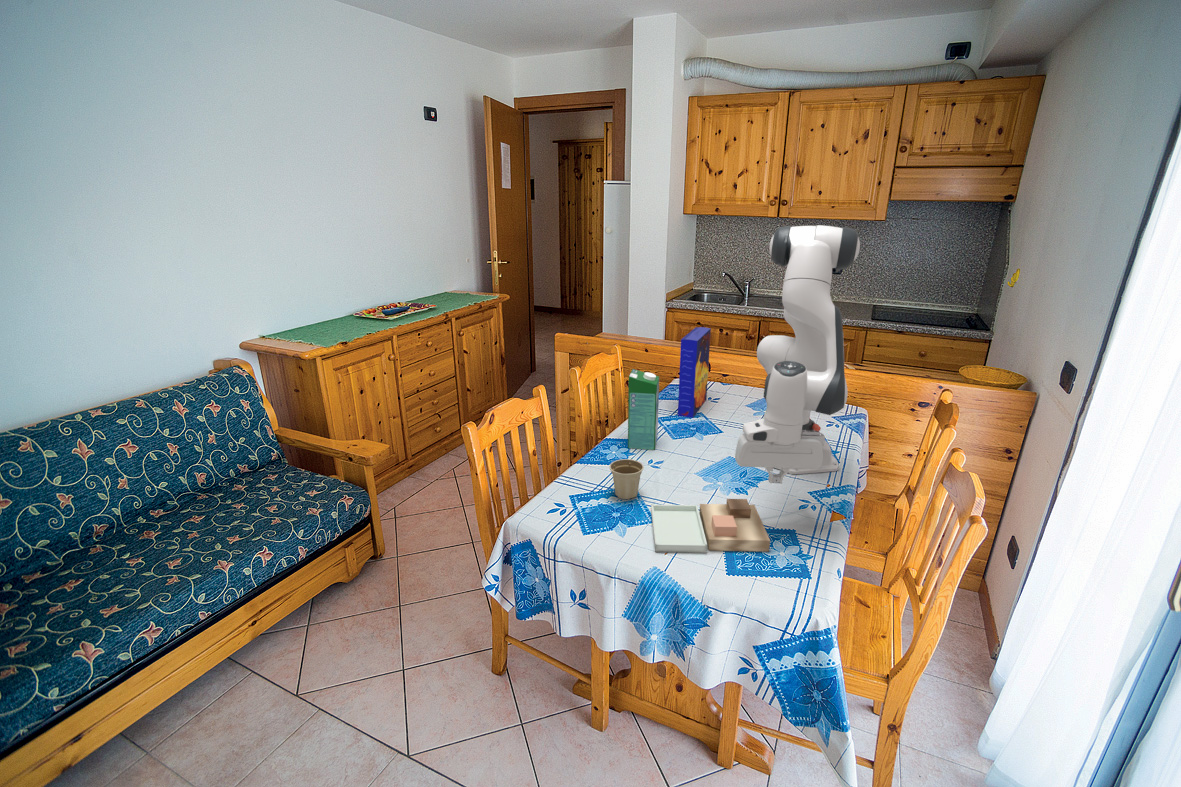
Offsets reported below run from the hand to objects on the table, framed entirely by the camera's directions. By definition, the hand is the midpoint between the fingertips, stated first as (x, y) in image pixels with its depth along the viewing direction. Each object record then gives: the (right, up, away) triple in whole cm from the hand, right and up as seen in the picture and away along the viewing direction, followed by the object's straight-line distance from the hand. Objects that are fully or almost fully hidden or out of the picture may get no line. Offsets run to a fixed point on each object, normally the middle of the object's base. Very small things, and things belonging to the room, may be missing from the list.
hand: (775, 482), depth 137 cm
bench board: (-10, -12, +1) cm, 16 cm away
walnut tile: (-8, -8, +4) cm, 12 cm away
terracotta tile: (-13, -11, -3) cm, 18 cm away
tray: (-24, -12, +2) cm, 27 cm away
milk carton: (-28, +5, +51) cm, 58 cm away
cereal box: (-5, +16, +83) cm, 85 cm away
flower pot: (-35, -7, +20) cm, 41 cm away
